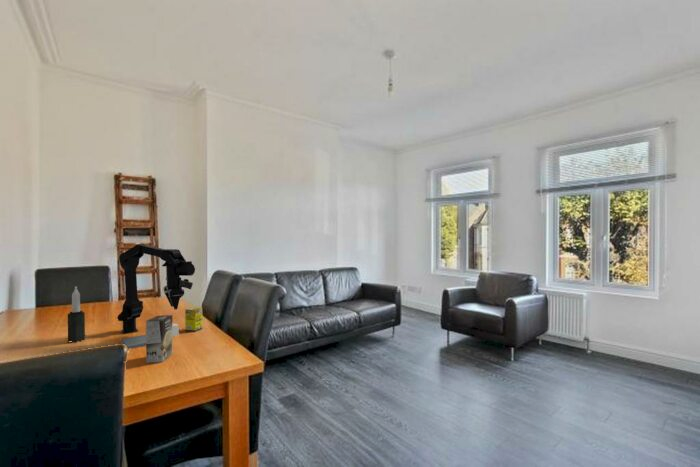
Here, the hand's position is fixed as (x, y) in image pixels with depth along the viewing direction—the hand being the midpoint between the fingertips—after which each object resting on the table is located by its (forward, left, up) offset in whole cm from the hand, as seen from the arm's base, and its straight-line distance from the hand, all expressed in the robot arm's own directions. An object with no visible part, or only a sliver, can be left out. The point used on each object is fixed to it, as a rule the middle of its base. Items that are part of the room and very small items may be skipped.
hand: (174, 307), depth 169 cm
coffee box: (+29, -13, -13) cm, 35 cm away
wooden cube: (-1, -1, -13) cm, 13 cm away
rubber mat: (+1, -14, -13) cm, 19 cm away
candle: (-21, -36, -13) cm, 44 cm away
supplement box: (-3, +10, -13) cm, 17 cm away
